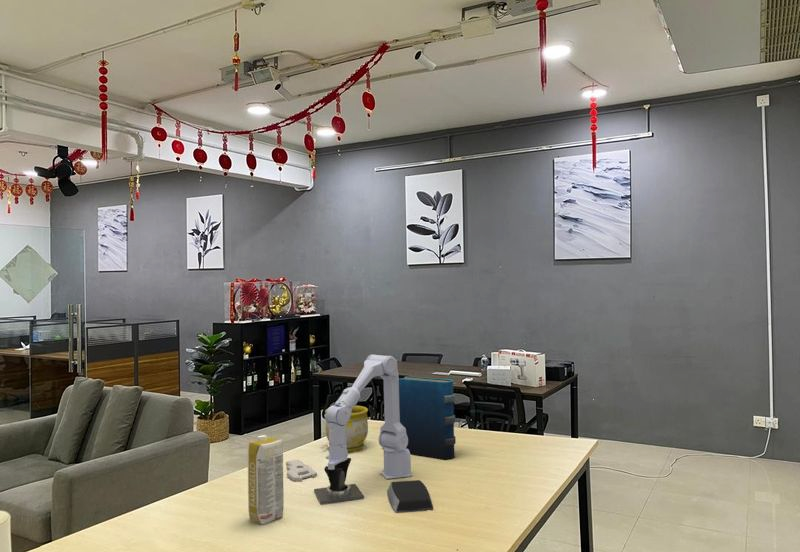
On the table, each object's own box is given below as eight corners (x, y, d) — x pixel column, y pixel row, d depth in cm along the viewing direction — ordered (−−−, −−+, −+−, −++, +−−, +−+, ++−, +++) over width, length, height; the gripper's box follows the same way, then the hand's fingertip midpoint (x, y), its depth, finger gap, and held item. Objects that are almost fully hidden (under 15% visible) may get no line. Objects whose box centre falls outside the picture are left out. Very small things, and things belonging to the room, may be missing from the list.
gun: (276, 460, 215) (301, 456, 221) (276, 469, 215) (301, 465, 221) (295, 476, 200) (321, 471, 206) (295, 486, 200) (321, 480, 206)
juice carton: (270, 510, 175) (269, 431, 176) (287, 516, 170) (286, 435, 171) (244, 520, 168) (243, 437, 169) (261, 527, 163) (260, 442, 164)
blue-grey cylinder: (334, 489, 190) (333, 469, 190) (346, 490, 189) (346, 470, 189) (328, 494, 186) (328, 473, 186) (341, 495, 185) (341, 474, 185)
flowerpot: (316, 450, 240) (316, 411, 240) (344, 440, 255) (344, 403, 255) (349, 457, 230) (349, 415, 230) (377, 446, 245) (376, 407, 245)
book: (460, 455, 230) (458, 379, 230) (450, 461, 222) (448, 382, 223) (408, 447, 242) (407, 375, 243) (397, 452, 235) (396, 378, 236)
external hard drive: (392, 515, 172) (392, 501, 172) (385, 492, 191) (385, 480, 191) (435, 512, 173) (435, 498, 173) (424, 489, 193) (424, 477, 193)
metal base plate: (355, 486, 195) (355, 479, 195) (364, 498, 184) (364, 490, 184) (314, 491, 191) (313, 484, 191) (320, 504, 179) (320, 496, 179)
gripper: (333, 436, 196) (333, 477, 195) (318, 448, 181) (319, 492, 181) (353, 437, 194) (353, 478, 194) (339, 449, 180) (340, 493, 180)
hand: (338, 485), depth 187 cm, fingers open, 7 cm apart
